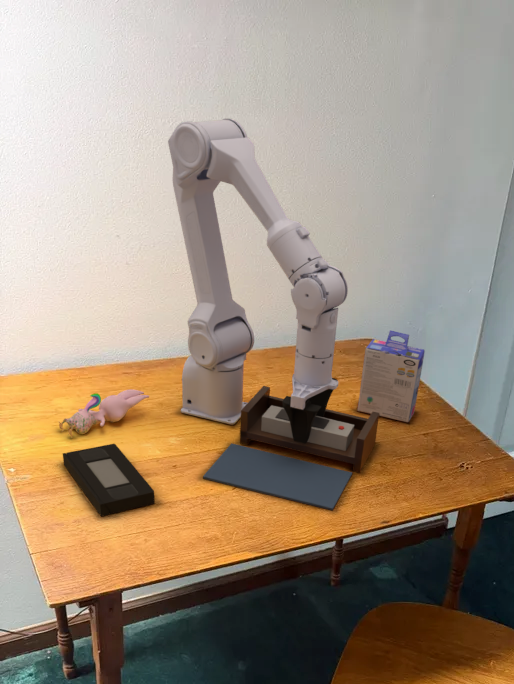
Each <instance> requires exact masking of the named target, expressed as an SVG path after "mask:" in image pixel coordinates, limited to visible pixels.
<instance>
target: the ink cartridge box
mask: <svg viewBox="0 0 514 684" xmlns="http://www.w3.org/2000/svg"><path fill="white" fill-rule="evenodd" d="M393 337H399V338H401V339H403V340H404V342H403V341H398V340H393V339H392V338H393ZM409 338H410V334H408V333H402V332H399V331H394V330H389V332H388V335H387V338H386V341H384V340H380V339H375V338H372V340H371V341H370V342H369V344H367V346H366V347H365V350H364V357H363V366H362V371H361V373H362V374H361V380H360V387H359V396H358V403H357V409H356V410H357V411H358V412H361V413H364V414H365V413H366V414H370V415H371V413H372V411H373V412H378V413H379V417H383V418H388V419H392V420H397V421H400V422H404V423H409V422H410V421H411V419H412V417H413V416H414V414H415V412H416V405H417V399H418V393H419V388H420V383H421V382H420V381H421V378H422V377H421V375H422V370H423V364H424V357H425V352H426V351H425V348H424V349H423V348H418V347H414V346H409V345H408V344H409Z"/></svg>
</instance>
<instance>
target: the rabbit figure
mask: <svg viewBox="0 0 514 684" xmlns="http://www.w3.org/2000/svg"><path fill="white" fill-rule="evenodd" d="M89 397H91V399H90V400H89V401H88V402H87V403H86V405H85V407H84V408H78V409H77V411H76V412H75V413H73V415H72V416H70V417H69V418H63V419H62V421H61V422H60V421H58V426H59V428H58V429H59V430H60V429H61V430H60V432H63V431H64V427H63V426H64V424H65V423H66V424H67V425H68V426H69V427H67V429H68V434H67V436H70V439H72V438H73V430H75V432H77V434H80V435H84V434H86V433H88V432H89V431H90V429H91V428H92V426H93V425H98V424H99V426H100V427H104V426H105V424H106V422H110V423H114V422H115V423H116V422H119V421H121V419H123V418H124V417H125V416H126V414H127V412H128V411H129V410H130V409H133V407H135V406H136V405H137V404H139V403H141V402H142V401H144V400H145V399H149V398H150V395H148V394H145V392H144V391H141V390H138V389H133V388H132V389H131V388H130V389H129V388H128V389H125V390H122V391H121V392H119V393H118V394H112V395H108V396H106V397H105V398H103V399H102V397H101V395H100V394H99V393H98V392H93V393H91V394H90V395H89ZM97 407H98V411H95V410H91V409H94V408H97Z"/></svg>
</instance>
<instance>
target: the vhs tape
mask: <svg viewBox="0 0 514 684" xmlns="http://www.w3.org/2000/svg"><path fill="white" fill-rule="evenodd" d="M62 461H63V465H64V467H65V469H66V470H67V472H69V474H70V475H71V477H72V478H73V480H74V481H75V482H76V484H77V485H78V486H79V487H80V490H81V491H82V492H83V493H84V495H85V496H86V498H87V499H88V500H89V502H90V503H91V504H92V506H93V507H94V509H95V510H96V511H97V513H98V514H99V515H100V517H104V516H108V515H111V514H112V515H113V514H116V513H120V512H125V511H129V510H133V509H137V508H141V507H145V506H150V505H153V504H155V503H156V502H155V490H154V489H153V487H151V485H150V484H149V483H148V482H147V480H146V479H145V478H144V477H143V475H142V474H141V473H140V472H139V471H138V469H137V468H136V467H135V465H133V464H132V462H131V461H130V460H129V459H128V457H126V455H125V454H124V453H123V451H122V450H121V449H120V448H119V447H118V445H117V444H116V443H110V444H105V445H104V444H103V445H99V446H93V447H90V448H84V449H79V450H73V451H68V452H63V453H62Z"/></svg>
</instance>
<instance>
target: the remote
mask: <svg viewBox="0 0 514 684" xmlns="http://www.w3.org/2000/svg"><path fill="white" fill-rule="evenodd" d="M261 431H264V432H268V433H272V434H276V435H281V436H285V437H289V438H293V435H292V430H291V425H290V421H289V418H288V415H287V413H286V411H285V409H284V408H281V407H277V406H273V405H271V406H270V408H269V409H268V410H267V411H266V412H265V414H264V415H263V416H262V426H261ZM353 433H354V425H353V424H349V423H344V422H340V421H336V420H332V419H327V418H323V417H319V416H315V418H314V421H313V424H312V428H311V432H310V436H309V439H308V441H307V442H310V443H314V444H318V445H322V446H327V447H331V448H335V449H339V450H343V451H346V449H347V448H348V446H349V444H350V443H351V441H352V439H353Z"/></svg>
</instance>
